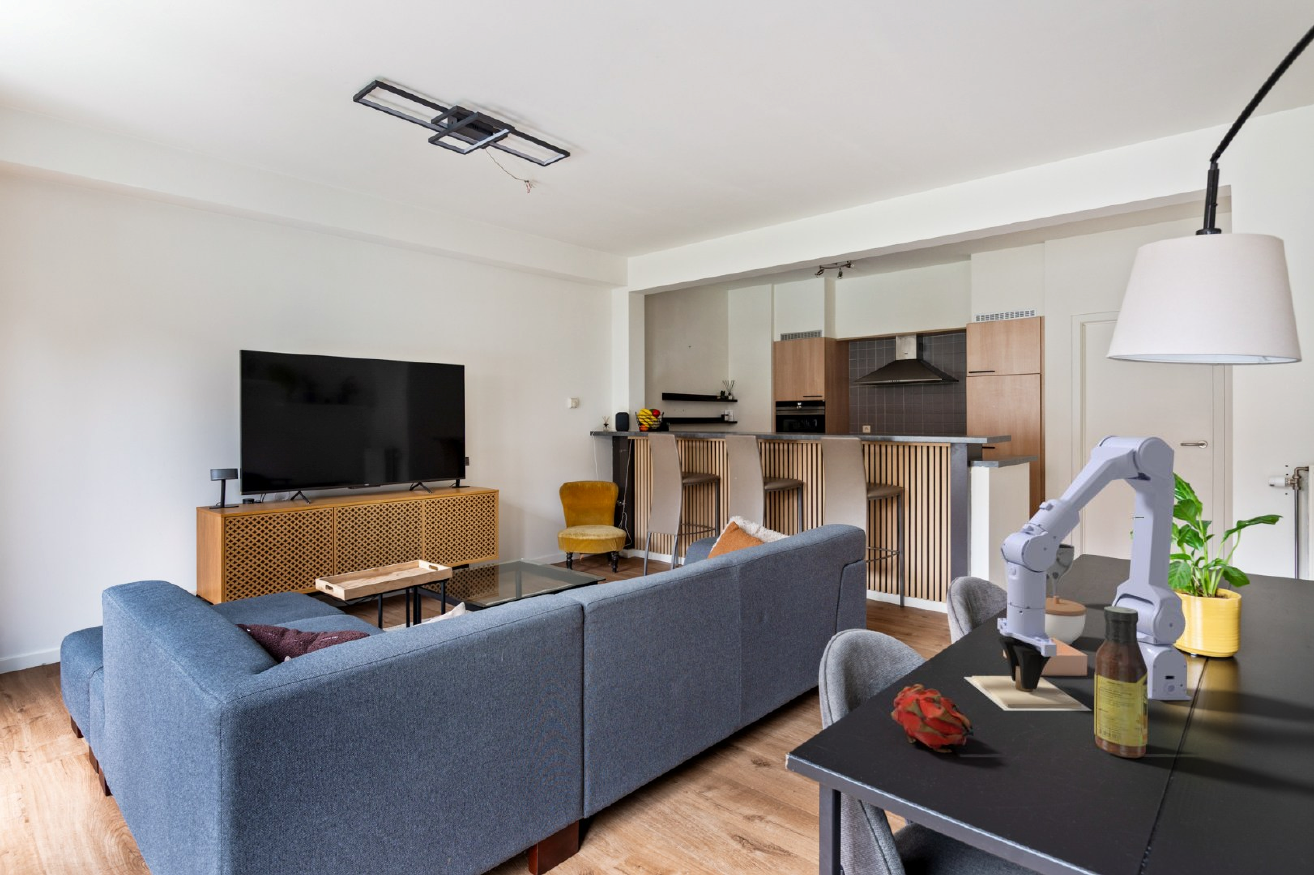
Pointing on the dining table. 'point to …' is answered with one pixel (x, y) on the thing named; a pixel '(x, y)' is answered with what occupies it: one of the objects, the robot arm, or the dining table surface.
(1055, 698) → the birch lid
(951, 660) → the dining table surface
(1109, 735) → the sauce bottle
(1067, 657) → the terracotta tray
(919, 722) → the dragon fruit
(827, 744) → the dining table surface
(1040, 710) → the grey mat
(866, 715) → the dining table surface
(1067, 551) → the wine glass
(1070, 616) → the lidded jar
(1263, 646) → the dining table surface
